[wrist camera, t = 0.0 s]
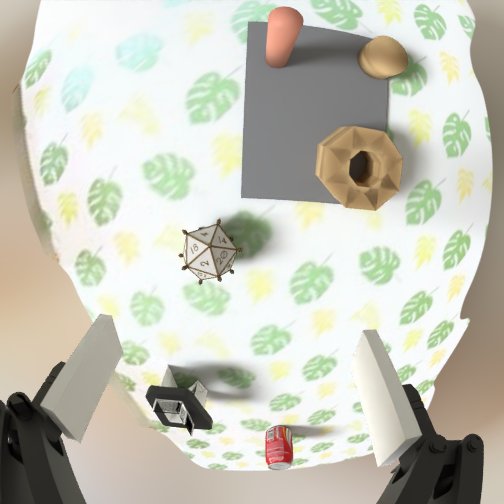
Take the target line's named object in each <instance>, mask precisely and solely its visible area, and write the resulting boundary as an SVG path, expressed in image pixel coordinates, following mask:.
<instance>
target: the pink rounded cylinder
mask: <svg viewBox="0 0 504 504" xmlns="http://www.w3.org/2000/svg"><path fill="white" fill-rule="evenodd" d="M302 25H303V17H302V15H301V14H300V13H299V12H298V11H297V10H295V9H293V8H290V7H278V8H276V9H274V10H272V11H271V13H270V14H269V18H268V31H267V44H266V57H265V60H266V63H267V64H268V65H269V66H270V67H272V68H282V67H284V66H285V65H286V64H287V62H288V60H289V57H290V55H291V52H292V50H293V47H294V45H295V42H296V40H297V37H298V35H299V32H300V30H301V28H302Z"/></svg>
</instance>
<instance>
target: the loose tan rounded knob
mask: <svg viewBox="0 0 504 504" xmlns="http://www.w3.org/2000/svg"><path fill="white" fill-rule="evenodd" d="M357 61H358V64H359V67H360V68H361V70H362V71H363V72H364V73H365V74H366V75H367V76H369V77H371V78H373V79H377V80H382V79H385V78H388V77H391V76H394V75H396V74H399V73H402V72H403V71H404V70H405V69H406V68H407V65H408V57H407V53H406V51H405V49H404V48H403V47H402V45H401V44H400V43H399V42H397V41H396V40H395V39H393V38H391V37H388V36H378V37H376V38H374V39H373V40H372V41H370V42H369V43H368V44H366V45H365V46H364V47H362V48H361V49H360V50H359V52H358V55H357Z"/></svg>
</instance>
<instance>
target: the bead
mask: <svg viewBox="0 0 504 504" xmlns="http://www.w3.org/2000/svg"><path fill="white" fill-rule="evenodd" d="M359 152H361V154H362V155H363V156H364V158H365V159H366V161H365V171H364V173H362V174H361V175H360V176H359V177H358V178H356V179H352V178H351V177H350V176H349V166H350V159H351V158H353V157H354V156H355V155H356V154H357V153H359ZM402 164H403V158H402V157H401V155H400V153H399V152H398V150H397V149H396V147H395V146H394V144H393V143H392V141H391V140H390V138H389V137H388V135H387V134H386V133H385V132H383V131H378V130H373V129H368V128H362V127H357V126H345V127H339V128H338V129H336V130H335V131H334V132H333V133H331V134H330V135H329V136H328V137H327V138H325V139H324V140H323V141H322V142H321V143H319V144H318V146H317V160H316V172H315V175H316V176H317V177H318V178H319V179H320V181H321V182H322V183H323V184H324V186H325V187H326V188H327V189H328V190H329V192H330V193H331V194H332V195H333V197H334V198H336V199H337V200H338V201H339V202H340V203H341V204H342V205H343V206H344V207H345V208H354V209H365V210H374V211H376V210H377V209H378V208H379V207H381V206H382V205H383V204H384V203H385V202H387V201H388V200H389V199H390V198H391V197H392V196H393V195H395V194H396V193H397V192H398V191H399V187H400V179H401V172H402Z"/></svg>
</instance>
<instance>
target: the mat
mask: <svg viewBox="0 0 504 504" xmlns="http://www.w3.org/2000/svg"><path fill="white" fill-rule="evenodd" d="M267 31H268V22H248V37H247V57H246V79H245V102H244V128H243V156H242V187H241V198H257V199H277V200H293V201H308V202H321V203H333V204H341V203H340V202H339V201H338V200H337V199H336V198H334V197H333V195H332V194H331V193H330V192H329V190H328V189H327V188H326V187H325V186H324V184H323V183H322V182H321V181H320V179H319V178H318V177H317V176H316V175H315V172H316V160H317V146H318V144H319V143H321V142H322V141H323V140H324V139H325V138H327V137H328V136H329V135H330V134H331V133H333V132H334V131H335V130H336V129H338V128H339V127H345V126H357V127H362V128H368V129H373V130H378V131H383V132H385V133H386V117H387V83H388V78H385V79H382V80H377V79H373V78H371V77H369V76H367V75H366V74H365V73H364V72H363V71H362V70H361V68H360V67H359V64H358V61H357V55H358V52H359V50H360V49H361V48H362V47H364V46H365V45H366V44H368V43H369V42H370V41H372V40H373V39H371V38H368V37H364V36H360V35H355V34H351V33H346V32H341V31H336V30H331V29H325V28H319V27H312V26H305V25H302V28H301V30H300V32H299V35H298V37H297V40H296V42H295V45H294V47H293V50H292V52H291V55H290V57H289V60H288V62H287V64H286V65H285V66H284V67H282V68H272V67H270V66H269V65H268V64H267V63H266V60H265V57H266V44H267ZM365 161H366V159H365V158H364V156H363V155H362V154H361V152H359V153H357V154H356V155H355V156H354V157H353V158H351V159H350V166H349V176H350V177H351V178H352V179H356V178H358V177H359V176H360V175H361V174H362V173H364V171H365Z"/></svg>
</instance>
